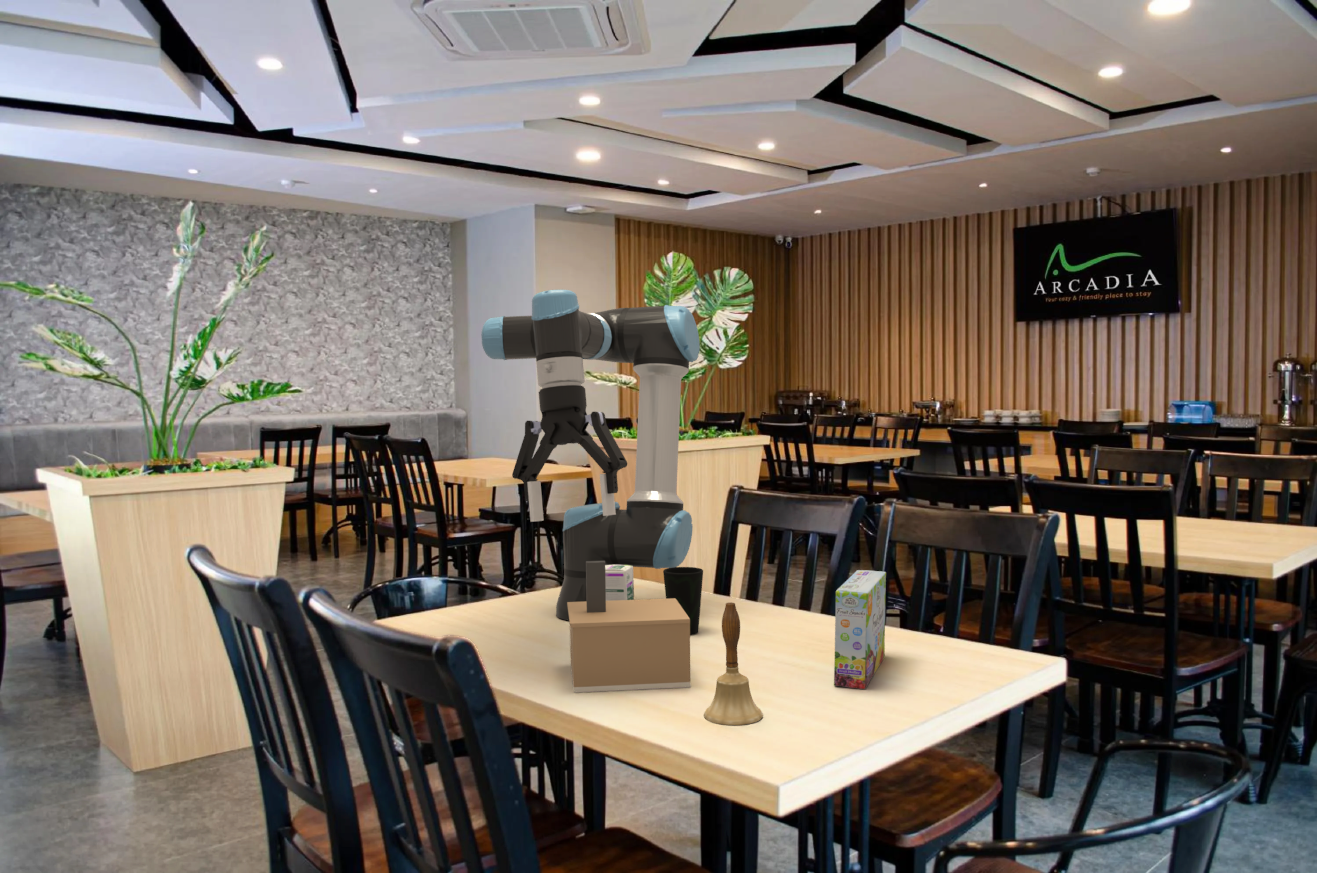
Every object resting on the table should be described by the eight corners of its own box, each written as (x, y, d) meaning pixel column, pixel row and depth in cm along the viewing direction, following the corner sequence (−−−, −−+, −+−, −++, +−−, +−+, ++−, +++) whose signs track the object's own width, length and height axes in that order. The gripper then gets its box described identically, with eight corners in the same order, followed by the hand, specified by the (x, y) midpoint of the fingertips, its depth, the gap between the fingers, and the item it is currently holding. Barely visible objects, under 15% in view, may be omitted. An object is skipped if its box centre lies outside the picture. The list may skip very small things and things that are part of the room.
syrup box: (628, 650, 175) (627, 569, 175) (596, 649, 176) (595, 568, 176) (635, 643, 181) (634, 564, 180) (604, 641, 182) (603, 563, 181)
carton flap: (570, 627, 149) (569, 571, 149) (567, 605, 166) (566, 554, 165) (690, 622, 152) (689, 567, 151) (675, 601, 168) (674, 551, 168)
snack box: (869, 690, 149) (869, 592, 149) (832, 687, 151) (832, 590, 151) (887, 656, 169) (887, 569, 169) (854, 654, 171) (854, 568, 171)
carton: (573, 692, 150) (572, 627, 150) (570, 664, 166) (569, 606, 165) (690, 687, 152) (689, 622, 152) (676, 660, 168) (675, 602, 168)
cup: (697, 638, 184) (696, 574, 183) (658, 635, 186) (657, 572, 186) (708, 629, 191) (707, 567, 191) (671, 626, 193) (670, 566, 193)
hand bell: (705, 726, 134) (704, 609, 133) (702, 707, 142) (701, 597, 142) (766, 725, 134) (765, 609, 133) (759, 706, 142) (758, 597, 142)
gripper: (484, 395, 161) (495, 525, 159) (617, 374, 150) (629, 513, 148) (511, 397, 167) (521, 522, 166) (640, 378, 156) (652, 511, 155)
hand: (572, 518), depth 157 cm, fingers open, 13 cm apart
